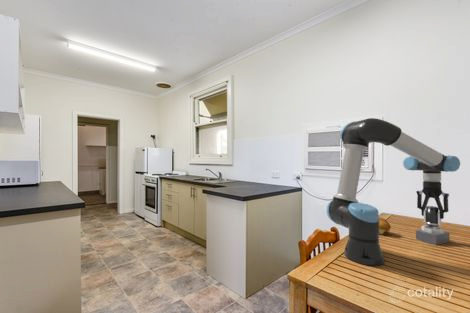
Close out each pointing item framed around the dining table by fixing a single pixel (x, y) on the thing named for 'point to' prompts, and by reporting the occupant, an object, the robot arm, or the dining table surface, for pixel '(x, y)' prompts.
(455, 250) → the dining table surface
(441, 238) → the block
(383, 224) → the orange brown stemmed fruit
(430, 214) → the lens
